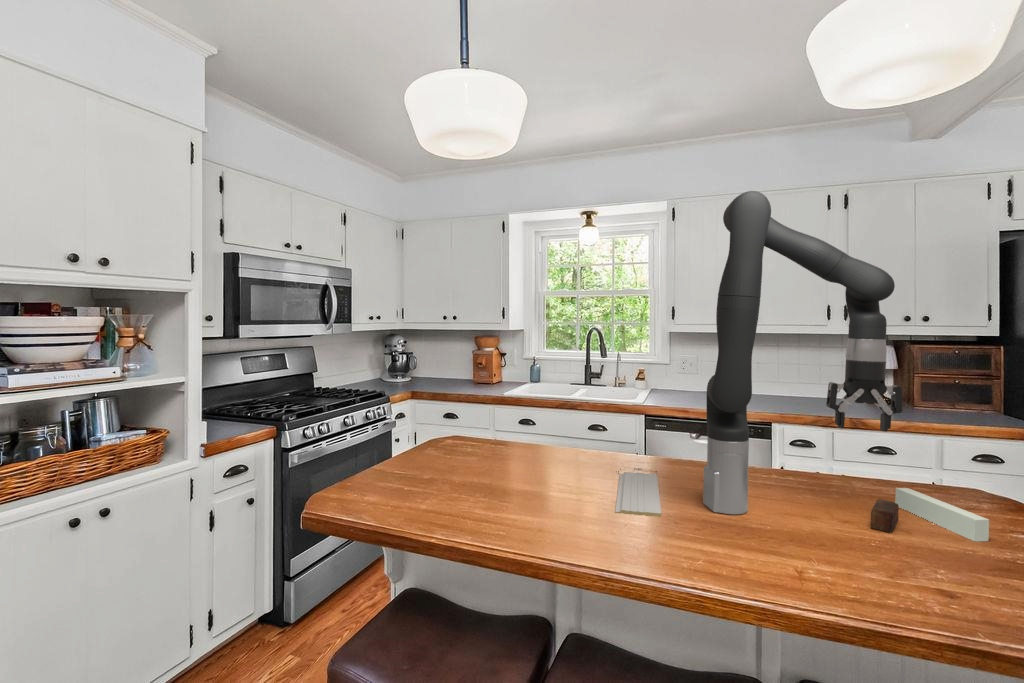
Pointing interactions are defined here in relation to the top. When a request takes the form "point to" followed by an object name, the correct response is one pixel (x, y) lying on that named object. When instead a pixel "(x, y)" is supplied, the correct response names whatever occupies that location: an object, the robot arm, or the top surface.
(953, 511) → the board
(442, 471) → the top surface
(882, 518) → the brick
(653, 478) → the baseboard molding
